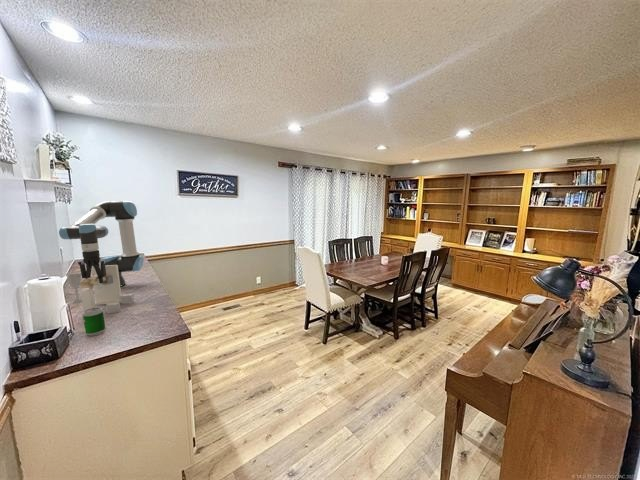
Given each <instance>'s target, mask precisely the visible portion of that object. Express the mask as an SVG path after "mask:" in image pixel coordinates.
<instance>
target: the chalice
mask: <svg viewBox="0 0 640 480" xmlns="http://www.w3.org/2000/svg"><path fill="white" fill-rule="evenodd" d="M66 277H67V281H68V285H69V286H70V287H71V288H72V289H73V290H74V293H75V298H74V299H73V302H72V303H73V304H78V303H83V300H82V297H79V294H80V293H79V291H78V289H79V288H81V287H80V281H82V275H81V272H79V273H78V272H77V273H71V274H66Z"/></svg>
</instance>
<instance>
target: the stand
mask: <svg viewBox="0 0 640 480" xmlns="http://www.w3.org/2000/svg"><path fill="white" fill-rule="evenodd" d="M120 298H121V302H120V303H108V304H105V311H106V312H105V313H106V314H112V313H113V314H115V313H118V314H119V312H121V305H122V304H132V303H134V302H135V301H134V294H133V293H129V294H121V296H120Z"/></svg>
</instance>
